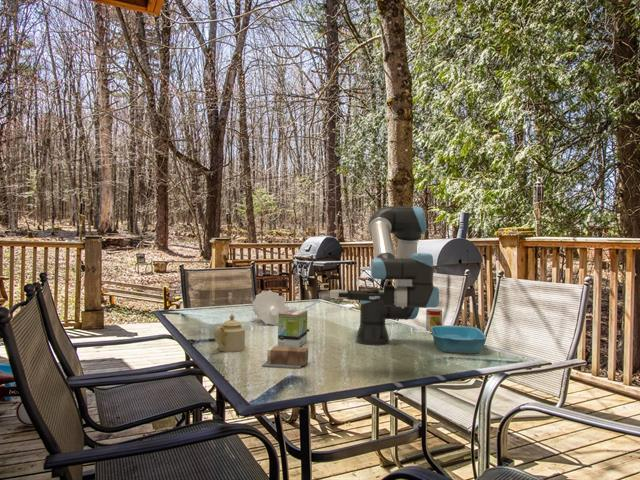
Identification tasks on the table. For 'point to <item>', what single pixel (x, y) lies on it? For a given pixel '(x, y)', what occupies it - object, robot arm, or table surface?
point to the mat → (281, 365)
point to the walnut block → (287, 355)
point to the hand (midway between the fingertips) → (330, 294)
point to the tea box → (292, 328)
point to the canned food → (433, 318)
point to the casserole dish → (458, 338)
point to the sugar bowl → (230, 336)
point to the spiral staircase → (269, 307)
